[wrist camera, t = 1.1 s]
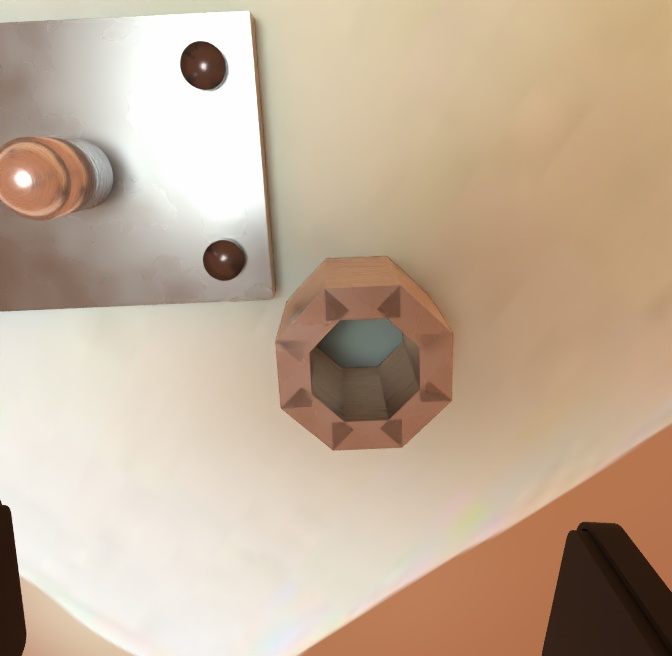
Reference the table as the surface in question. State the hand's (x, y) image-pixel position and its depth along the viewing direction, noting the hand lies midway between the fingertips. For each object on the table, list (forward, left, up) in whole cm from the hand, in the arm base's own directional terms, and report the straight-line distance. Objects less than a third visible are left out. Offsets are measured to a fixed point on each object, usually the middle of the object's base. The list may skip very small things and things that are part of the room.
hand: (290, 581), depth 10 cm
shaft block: (+10, -6, -20) cm, 23 cm away
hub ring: (-2, +2, -20) cm, 20 cm away
